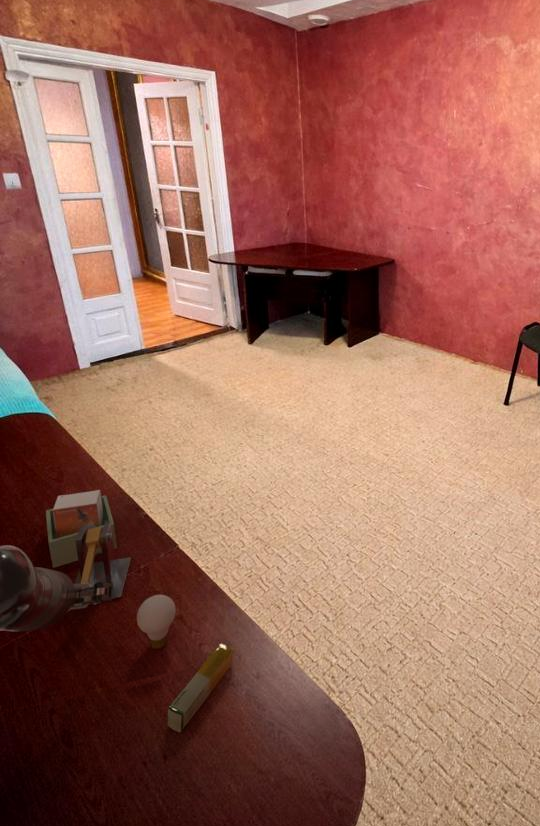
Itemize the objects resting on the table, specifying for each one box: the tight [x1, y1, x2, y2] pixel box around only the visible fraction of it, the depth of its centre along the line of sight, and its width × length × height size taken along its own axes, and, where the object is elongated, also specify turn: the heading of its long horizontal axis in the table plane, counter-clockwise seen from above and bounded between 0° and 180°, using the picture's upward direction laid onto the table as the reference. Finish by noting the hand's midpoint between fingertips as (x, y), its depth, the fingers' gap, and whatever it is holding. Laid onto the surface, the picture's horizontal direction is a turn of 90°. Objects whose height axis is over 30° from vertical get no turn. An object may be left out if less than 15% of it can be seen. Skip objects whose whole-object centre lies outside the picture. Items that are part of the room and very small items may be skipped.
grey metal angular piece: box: [72, 522, 132, 606], centre depth 93 cm, size 11×9×13 cm
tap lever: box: [75, 528, 102, 605], centre depth 88 cm, size 14×4×4 cm, turn 17°
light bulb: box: [136, 594, 177, 650], centre depth 82 cm, size 6×6×10 cm
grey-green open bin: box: [45, 495, 118, 569], centre depth 105 cm, size 12×11×7 cm
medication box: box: [166, 642, 234, 734], centre depth 75 cm, size 12×3×4 cm, turn 161°
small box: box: [52, 489, 104, 538], centre depth 104 cm, size 8×6×10 cm
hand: (69, 601), depth 78 cm, fingers open, 8 cm apart
